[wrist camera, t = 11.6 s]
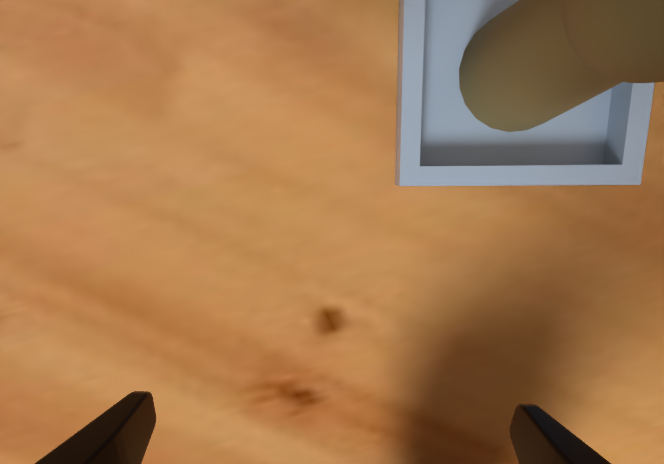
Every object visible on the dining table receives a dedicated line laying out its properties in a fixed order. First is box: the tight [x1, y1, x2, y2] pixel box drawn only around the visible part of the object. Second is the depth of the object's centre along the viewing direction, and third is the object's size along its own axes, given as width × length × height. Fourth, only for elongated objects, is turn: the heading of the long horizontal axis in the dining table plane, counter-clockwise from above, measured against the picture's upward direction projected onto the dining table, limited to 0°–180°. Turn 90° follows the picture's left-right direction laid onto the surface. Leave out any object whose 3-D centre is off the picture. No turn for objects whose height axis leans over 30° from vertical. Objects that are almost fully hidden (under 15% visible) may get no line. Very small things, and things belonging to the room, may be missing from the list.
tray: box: [395, 0, 655, 186], centre depth 18 cm, size 12×12×2 cm
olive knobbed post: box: [459, 0, 664, 132], centre depth 13 cm, size 6×6×11 cm
